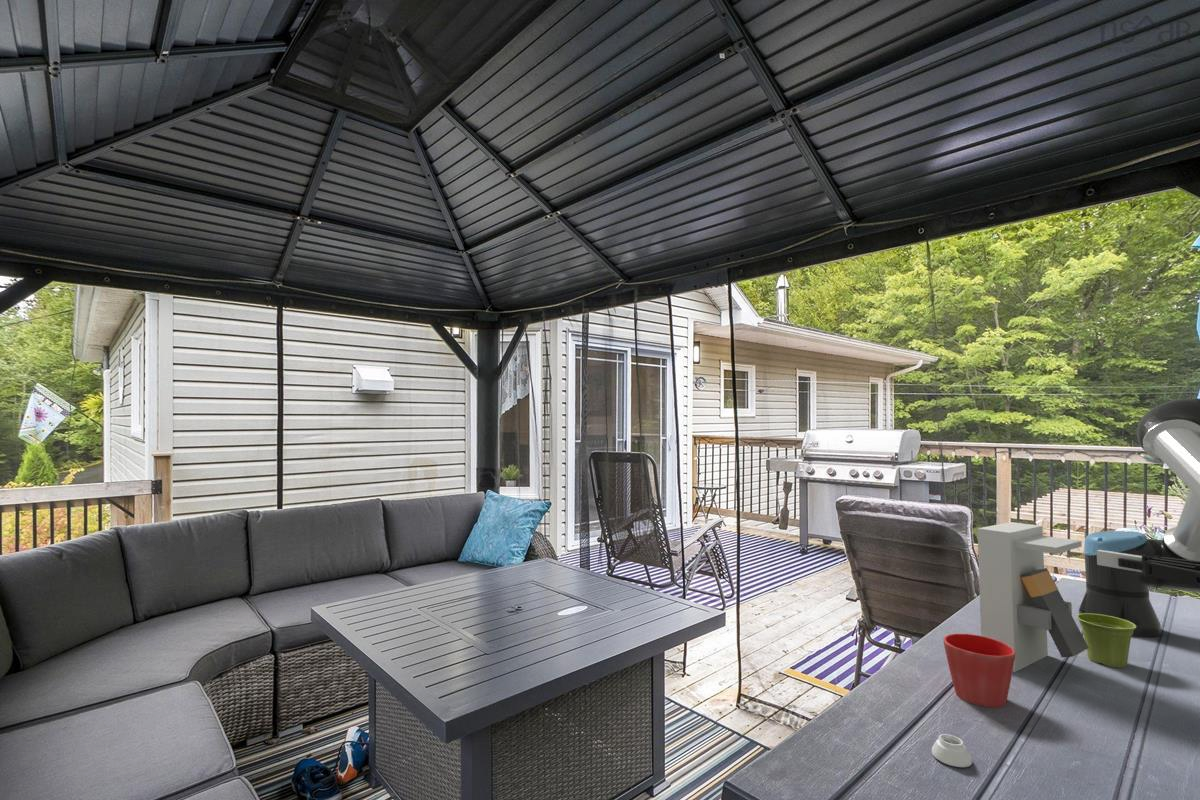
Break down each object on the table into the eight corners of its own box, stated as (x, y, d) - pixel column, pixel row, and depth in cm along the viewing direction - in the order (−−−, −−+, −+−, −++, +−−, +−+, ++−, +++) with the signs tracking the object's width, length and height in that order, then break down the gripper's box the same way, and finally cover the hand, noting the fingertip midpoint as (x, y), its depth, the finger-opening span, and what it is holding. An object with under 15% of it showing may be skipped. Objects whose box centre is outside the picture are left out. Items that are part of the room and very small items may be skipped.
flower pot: (996, 718, 94) (994, 660, 95) (932, 691, 104) (931, 638, 104) (1029, 704, 99) (1027, 648, 100) (965, 679, 109) (964, 629, 109)
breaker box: (1015, 646, 126) (1011, 522, 127) (1090, 667, 115) (1083, 530, 116) (982, 661, 117) (977, 528, 119) (1058, 686, 106) (1052, 538, 108)
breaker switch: (1077, 648, 113) (1036, 569, 120) (1089, 647, 112) (1047, 567, 118) (1061, 657, 109) (1019, 575, 115) (1073, 656, 107) (1030, 573, 114)
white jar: (976, 761, 82) (938, 746, 86) (975, 740, 82) (938, 726, 86) (965, 774, 79) (926, 758, 83) (964, 753, 79) (926, 738, 83)
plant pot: (1150, 673, 112) (1148, 629, 112) (1096, 669, 114) (1094, 626, 114) (1117, 655, 121) (1115, 614, 121) (1068, 651, 123) (1066, 611, 123)
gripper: (1284, 620, 84) (1086, 582, 104) (1299, 604, 91) (1110, 571, 111) (1282, 570, 84) (1084, 541, 104) (1296, 558, 91) (1109, 533, 111)
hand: (1098, 557), depth 108 cm, fingers closed
